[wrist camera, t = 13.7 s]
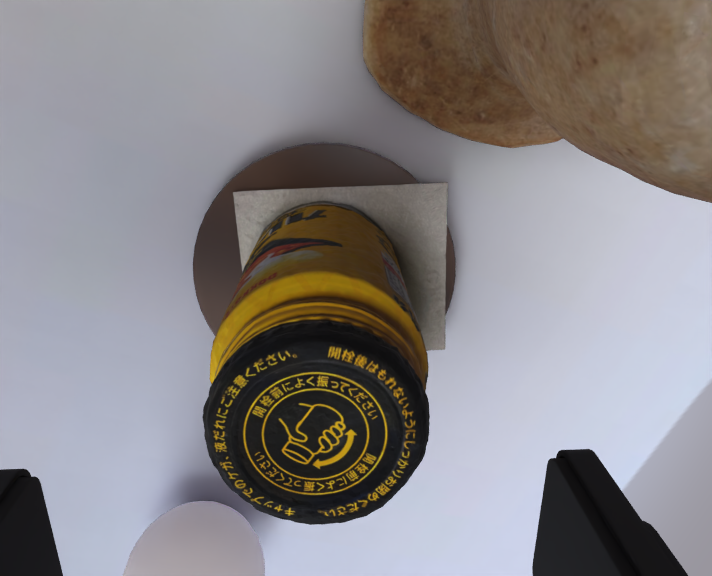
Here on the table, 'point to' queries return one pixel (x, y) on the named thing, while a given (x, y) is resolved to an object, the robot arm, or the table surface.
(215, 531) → the egg
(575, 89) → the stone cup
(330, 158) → the coaster
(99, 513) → the table surface
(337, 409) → the condiment
